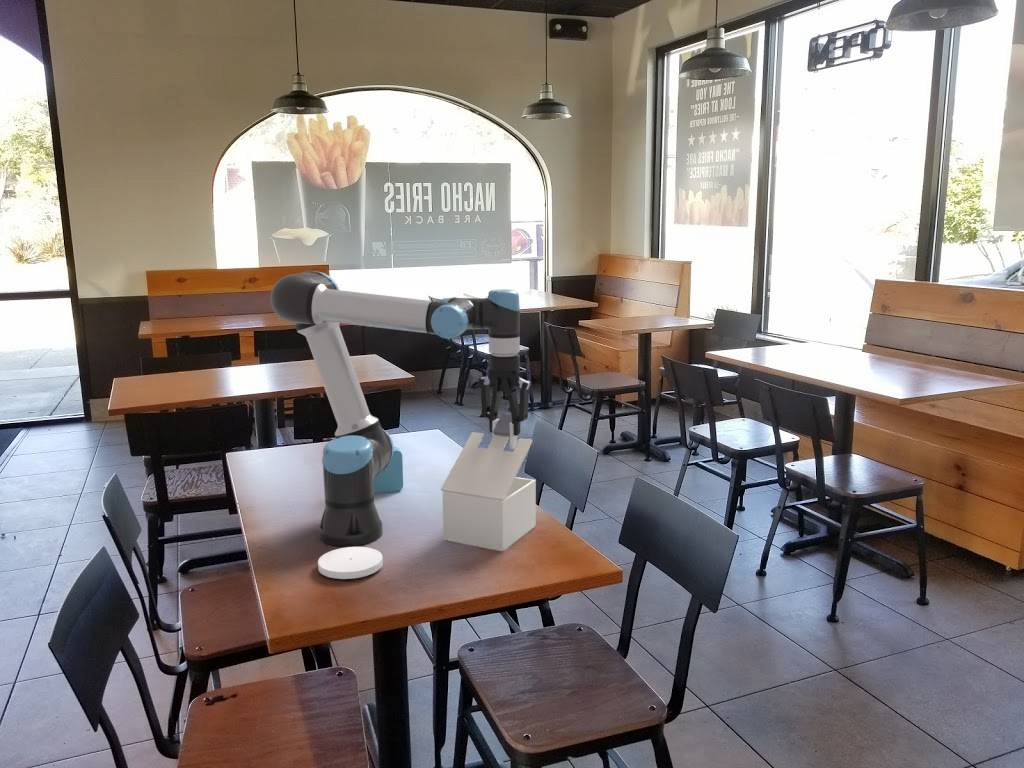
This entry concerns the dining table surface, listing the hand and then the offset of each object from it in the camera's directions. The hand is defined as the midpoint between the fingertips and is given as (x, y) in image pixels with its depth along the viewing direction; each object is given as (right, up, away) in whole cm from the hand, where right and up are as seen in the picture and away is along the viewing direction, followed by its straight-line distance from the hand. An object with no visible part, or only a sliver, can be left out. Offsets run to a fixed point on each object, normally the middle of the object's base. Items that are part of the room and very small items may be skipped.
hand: (504, 446), depth 206 cm
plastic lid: (-34, -26, -23) cm, 48 cm away
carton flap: (-3, -3, -5) cm, 6 cm away
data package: (-35, -15, +29) cm, 48 cm away
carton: (-4, -21, -3) cm, 22 cm away
